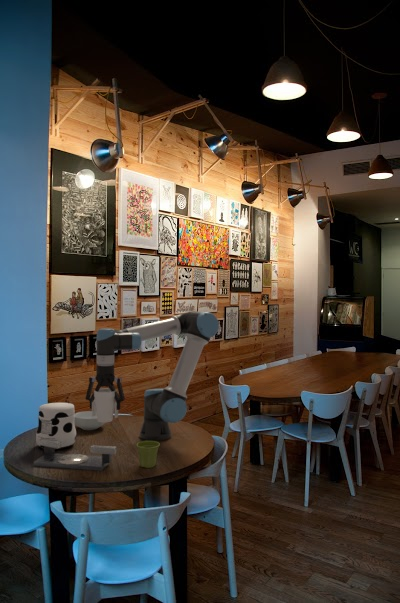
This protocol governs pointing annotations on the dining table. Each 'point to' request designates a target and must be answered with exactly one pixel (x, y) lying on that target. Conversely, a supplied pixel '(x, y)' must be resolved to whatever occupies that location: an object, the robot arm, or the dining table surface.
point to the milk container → (57, 423)
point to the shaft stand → (74, 457)
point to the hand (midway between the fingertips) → (104, 416)
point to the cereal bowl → (87, 421)
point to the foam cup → (104, 404)
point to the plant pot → (148, 453)
